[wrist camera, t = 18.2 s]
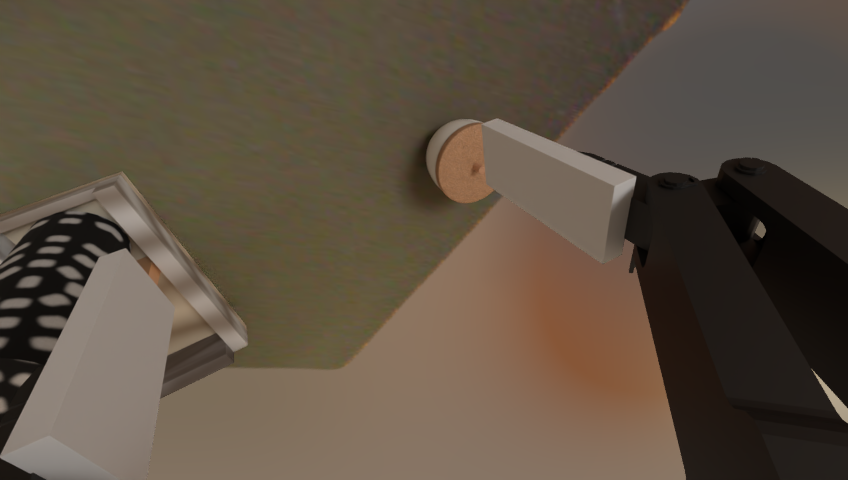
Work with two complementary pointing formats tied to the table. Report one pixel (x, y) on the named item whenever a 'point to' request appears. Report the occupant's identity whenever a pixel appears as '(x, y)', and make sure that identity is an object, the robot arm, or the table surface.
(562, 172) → the robot arm
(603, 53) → the table surface
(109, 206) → the marbled beige tray
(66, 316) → the white-spotted black cylinder
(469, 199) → the lidded jar
